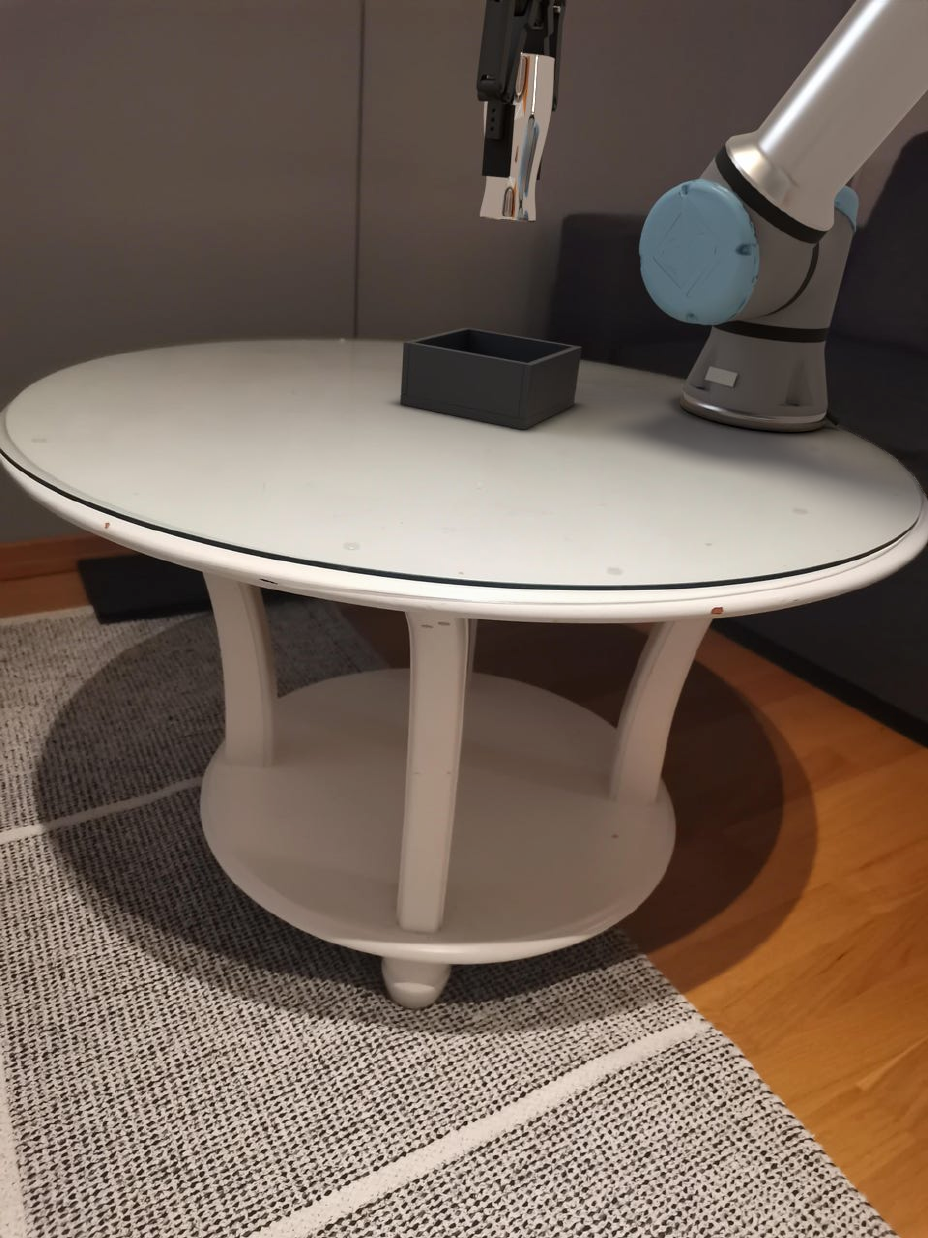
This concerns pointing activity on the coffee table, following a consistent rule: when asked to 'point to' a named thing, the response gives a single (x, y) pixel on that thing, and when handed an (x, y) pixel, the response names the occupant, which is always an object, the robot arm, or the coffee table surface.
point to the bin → (490, 376)
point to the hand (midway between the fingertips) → (511, 177)
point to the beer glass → (523, 142)
